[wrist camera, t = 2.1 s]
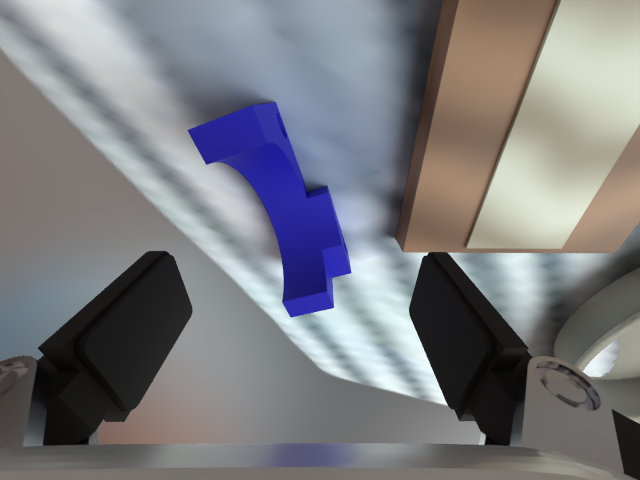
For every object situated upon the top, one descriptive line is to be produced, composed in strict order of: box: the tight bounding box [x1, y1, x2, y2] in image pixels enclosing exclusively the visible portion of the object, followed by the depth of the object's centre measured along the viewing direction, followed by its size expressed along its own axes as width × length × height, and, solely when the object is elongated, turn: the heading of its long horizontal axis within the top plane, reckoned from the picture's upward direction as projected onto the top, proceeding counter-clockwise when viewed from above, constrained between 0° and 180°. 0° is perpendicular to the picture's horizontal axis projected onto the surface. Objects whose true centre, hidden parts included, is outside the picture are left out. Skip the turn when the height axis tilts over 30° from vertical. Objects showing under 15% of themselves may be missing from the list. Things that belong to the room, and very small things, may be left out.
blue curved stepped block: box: [188, 102, 351, 317], centre depth 15 cm, size 12×4×6 cm, turn 18°
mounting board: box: [396, 0, 640, 253], centre depth 15 cm, size 16×16×2 cm
